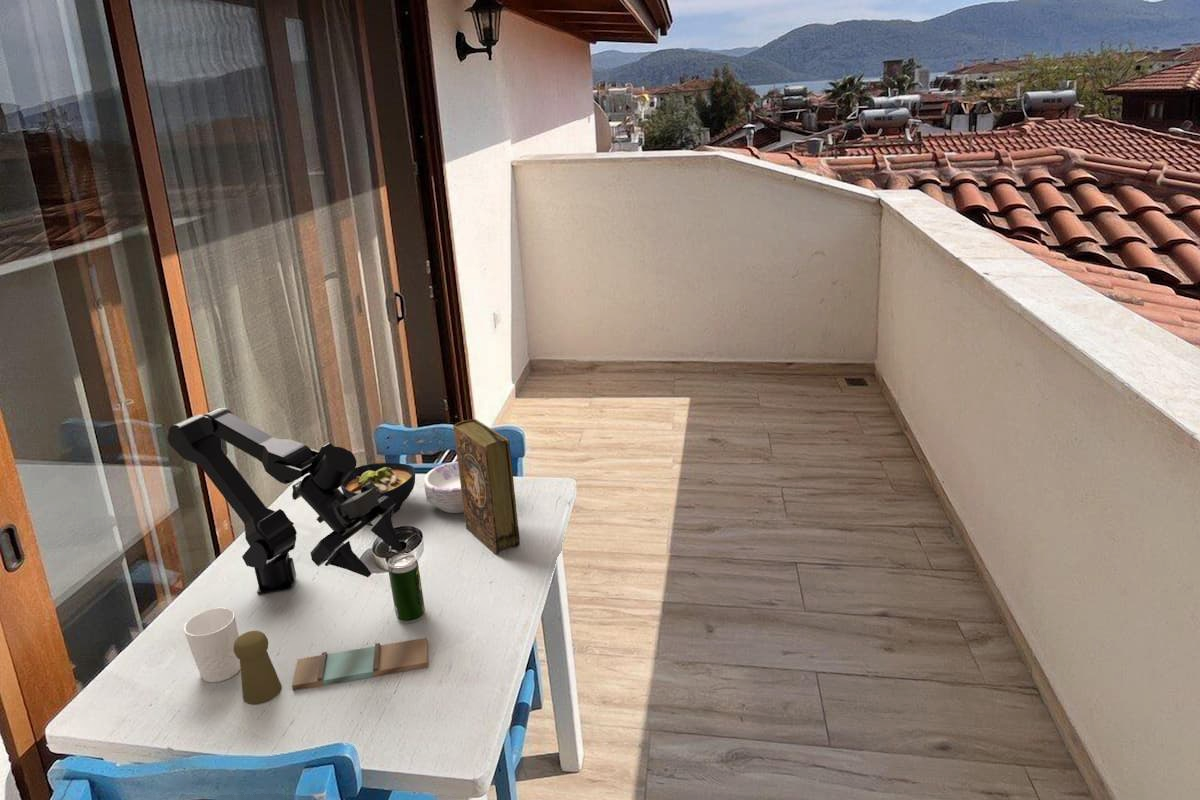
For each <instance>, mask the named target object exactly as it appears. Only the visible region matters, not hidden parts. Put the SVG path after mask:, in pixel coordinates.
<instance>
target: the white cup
mask: <svg viewBox="0 0 1200 800" xmlns="http://www.w3.org/2000/svg"><path fill="white" fill-rule="evenodd" d="M238 629H239V628H238V625H237V620H236V614H235V611H234V610H232V609H230V608H227V607H213V608H210V609H206V610H204V611H201V612H198V613H196V614H195V615H193V616H192V617H191V618H189V619H188V620H187V621H186V623H185V624H184V626H183V631H184V634H185V637H186V639H187V644H188V646H189V649H190V652H191V655H192V657H193V660H194V663H195V665H196V667H197V669H198V673H199V675H200V678H202V680H203V681H204V682H208V683H220V682H223V681H226V680H228V679H231V678H232V677H233V676H235V675H236V674H238V673H239V672H240V671H241V668H240V659H238V658H237V657H236V655H235V653H234V643H235V641H236V639H237V638H238V637H239V636H240V635H239V630H238Z"/></svg>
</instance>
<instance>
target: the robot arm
mask: <svg viewBox="0 0 1200 800" xmlns="http://www.w3.org/2000/svg"><path fill="white" fill-rule="evenodd" d="M166 438H167V442H168V444H169V446H170V447H171V448H172V449H173V450H174V451H176V453H177V454H178V455H179V456H180V457H181V458H182V459H183V460H185V461H188V462H190V463H193V464H196V465H198V466H199V467H200V468H201V469H202V471H203V472H204V474H206V476H207V477H208V478H209V480H210V481H211V482H212V484H213V485H214V486H215V488H216V489H217V490H218V492H219V493H221V495H222V497H223V498H224V499H225V501H226V502H227V503H228V504H229V506H230V507H231V508H232V509H233V511H234V512H235V513H236V515H238V517H239V519H241V521H242V522H243V524H244V537H245V540H246V543H247V545H249V548H247V550H246V551H245V552H244V554H243V555H242V557H241V558H242V559H243V561H244V563H245V565H246V566H247V567H250V568H254V572H255V577H256V580H257V585H258V588H257V590H256V593H257V594H258V595H262V594H270V593H275V592H281V591H287V590H291V589H292V587H293V584H294V581H296V580H295V579H296V576H297V572H296V567H295V563H294V559H293V557H290V554H289V552H291V551H292V550H293V551H294V550H295V547H296V542H297V534H298V531H297V530H296V527H295V526H294V525H295V523H294V522H293V521H291V519H290V518H289V517H288V515H286V513H285V511H284V510H282V509H281V508H278V509H277V510H273V509H271V508H268V507H267V506H266V505H265V503H263V501H262V500H261V498H259V496H258V494H257V493H256V492H255V491H254V489H253V488H252V487H251V486H250V484H249V483H248V482H247V481H246V479H245V478H244V476H243V475H242V474H241V473H240V471H239V470H238V469H237V467H236V466H235V465H234V464H233V462H232V461H231V460H230V458H229V457H228V456H227V454H226V453H225V452H224V450H223V445H222V442H223V441H225V442H226V443H228V444H229V445H231V446H234V447H235V448H237V449H239V450H241V451H242V452H244V453H246V454H247V455H249V456H251V457H253V458H254V459H256V460H258V461H259V462H260V463H261V464H262V466H263V469H264V472H266V473H267V474H268V475H269V476H270V477H272V478H273V479H275V480H276V481H277V482H278V483H280V484H283V485H289V484H291V483H293V482H294V481H296V480H299V479H301V478H302V477H303V478H302V480H299V481H297V482H296V483H294V484H293V485H291V488H292V494H291V497H292V500H294V501H297V500H298V499H299V498H302V499H303V500H304V501H305V502H306V503H307V504H308V505H309V506H310V507H311V508H312V510H314V511H315V513H316V514H317V515H318V517H317V518H316V520H317V522H318V523H319V524H322V523H323V522H325V524H327V526H328V527H329V528H330V529H331V530H332V531H331V532H330V533H329V534H327V535H325V537H323V538H322V539H320V541H318V543H317V544H316V545H315V546H314V548H313V549H312V550H311V551H310V557H311V560H312V562H313V563H314V564H315V566H317V567H320V566H321V565H322V564H324V566H325V567H328V566H333V567H336V568H337V567H338V568H341V569H344V570H347V571H350V572H352V573H355V574H357V575H360V576H363V577H366V578H369V577H371V576H372V572H371V571H370V569H369V568H368V567H367V565H366V564H365V563H364V562H363V561H362V560H361V559H360V558H359V557H358V556H357V554H356V553H355V552H353V550H352V545H351V542H350V540H349V539H350V538H352V537H353V536H354V535H356V534H357V533H359V532H360V531H361V530H362V529H364V528H365V527H366V526H367V527H371V529H370V531H371V532H372V533H373V534H374V535H376V536H377V537H378V538H379V539H380V540H382V541H383V542H384V543H386V544H387V545H388V546H389V547H390V548H391V549H393V550H395V551H397V552H398V553H399V552H401V551H402V550H403V546H402V543H401V542H400V540H399V537H398V534H397V533H396V530H395V527H394V524H393V520H392V519H393V514H392V513H393V512H394V509H393V508H392V507H393V506H394V505H395V504H396V503H395V502H394V501H393V500H392V499H391V498H390V497H388V496H382V497H381V498H380V499H377V498H378V497H380V496H381V492H380V491H379V489H378V487H377V486H375V485H374V484H373V483H372V482H369V483H367V484H365V485H364V486H362V487H361V493H359V494H358V495H356V496H353V495H352V494H351V493H350V492H345V493H344V494H343V491H342V490H340V489H339V488H341V485H342V484H343V483H344V481H345V480H346V479H347V477H348V476H349V475H350V474H351V472H352V471H353V470H354V469H355V468H357V459H356V456H355V455H354V453H353V452H352V451H351V450H348V449H346V448H344V447H340V446H334V445H333V444H332V443H331V442H328V443H326V444H325V445H323V446H322V447H320V449H319V450H317V449H314V448H311V447H309V446H308V445H306V444H304V443H301V442H298V441H296V440H293V439H285V438H277V437H274V436H272V435H270V434H269V433H267V432H265V431H264V430H261V429H259V428H258V427H256V426H254V425H252V424H250V423H249V422H247V421H246V420H243V419H241V418H240V417H238V416H236V415H234V414H233V412H231V410H230V409H228V408H227V407H221V408H220V407H219V408H217V409H214V410H212V411H210V412H207V413H205V414H200V413H198V414H195V415H193V416H190V417H189V418H187V419H184V420H181V421H179V422H177V423H174V424H172V425H171V426H170V427H169V428H168V434H167V437H166ZM347 540H348V541H347Z"/></svg>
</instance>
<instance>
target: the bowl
mask: <svg viewBox="0 0 1200 800" xmlns="http://www.w3.org/2000/svg"><path fill="white" fill-rule="evenodd" d="M369 482H372V483H373V484H374V485H375V486H377V487H378V489H379V491H380V492H381V496H380V497H378V498H377V499H380V498H381V497H382V496H388V497H390V498H391V499H392V500H393V501H394V502H395V503H396V504H395V505H394V506H393V507H392V508H393V509H394V512H393V513H392V515H395V514H396V513H398V512H399V511H400V510H401V508H402V506H403V504H404V503H405V501H406V500H407V499H408V498H409V497H410V495H411V493H412V492H413V490H414V488H415V484H416V469H415V467H414V466H412V465H410V464H407V463H399V462H398V463H397V462H378V463H377V462H376V463H370V464H364V465H363V464H362V465H360V466H356V467H355V469H354V470H353V471H352V472H351V474H350V475H349V476H348V477H347V479H346V480H345V481H344V483H343V484H342V485H341V486H340V489H341V492H342V493H343V494H344V493H345V492H350V493H351V494H352V495H353V496H356V495H358V494H359V493H361V487H362V486H364V485H365V484H367V483H369Z"/></svg>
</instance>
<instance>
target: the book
mask: <svg viewBox="0 0 1200 800" xmlns="http://www.w3.org/2000/svg"><path fill="white" fill-rule="evenodd" d="M452 426H453V435H454V441H455V451H456V458H457V462H458V468H459V476H460V483H461V491H462V499H463V507H464V512H463V513H464V522H465V529H466V530H467V531H468V532H469V533H470V532H471V533H472V534H471V533H470V534H471V535H473V537H475V538H476V539H477V540H479V542H480V543H482V545H484V546H485V547H486V548H487V549H488V550H490V551H491V552H492V553H493V554H495V555H498V554H499V553H500V552H502V551H503V550H506V549H508V548H509V549H510V548H513V547H519V546H521V545H520V544H521V543H520V542H521V539H520V530H519V529H520V528H519V522H518V511H517V500H516V493H515V483H514V476H513V475H514V473H513V465H512V464H513V463H512V462H513V461H512V454H511V447H510V446H511V445H510V444H511V443H510V440H509V438H506V437H504V436H503V435H502V434H500V433H498V432H497V431H495V430H494V429H492V428H491V427H489V426H488V425H486V424H484V423H482V422H481V421H479V420H478V419H473V418H472V419H466V420H462V421H458V422H456V423H454V424H453V425H452Z"/></svg>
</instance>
